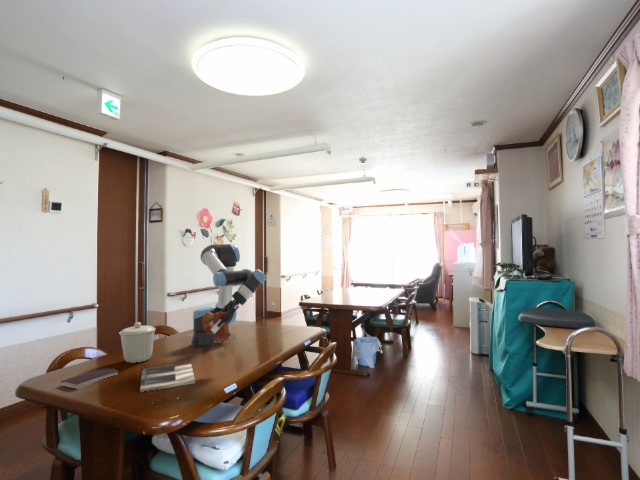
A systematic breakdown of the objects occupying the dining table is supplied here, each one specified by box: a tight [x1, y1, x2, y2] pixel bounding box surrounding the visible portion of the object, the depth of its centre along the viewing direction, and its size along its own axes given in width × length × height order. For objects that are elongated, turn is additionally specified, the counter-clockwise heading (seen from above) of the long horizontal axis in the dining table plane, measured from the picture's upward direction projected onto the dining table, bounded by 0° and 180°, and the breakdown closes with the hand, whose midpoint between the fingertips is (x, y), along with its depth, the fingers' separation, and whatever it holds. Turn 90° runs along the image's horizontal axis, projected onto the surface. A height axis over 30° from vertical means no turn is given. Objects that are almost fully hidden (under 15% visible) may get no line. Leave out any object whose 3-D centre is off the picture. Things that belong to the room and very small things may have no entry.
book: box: [60, 367, 119, 387], centre depth 164 cm, size 12×19×3 cm, turn 153°
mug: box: [202, 312, 231, 343], centre depth 175 cm, size 15×8×15 cm, turn 73°
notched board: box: [139, 363, 196, 393], centre depth 164 cm, size 26×22×4 cm
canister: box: [118, 321, 156, 364], centre depth 193 cm, size 18×18×21 cm
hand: (211, 329), depth 173 cm, fingers closed on mug, 10 cm apart
